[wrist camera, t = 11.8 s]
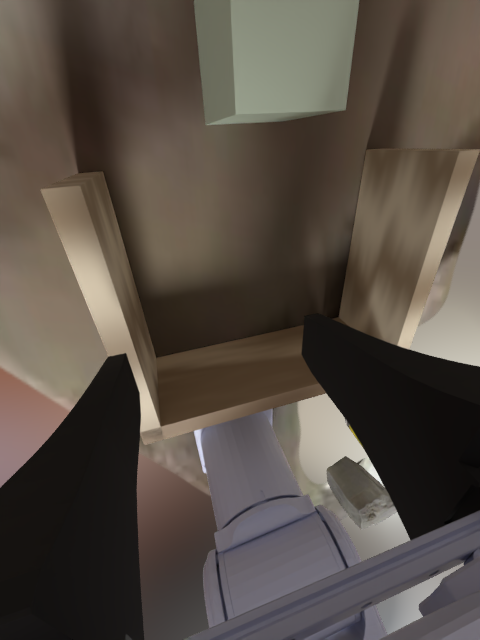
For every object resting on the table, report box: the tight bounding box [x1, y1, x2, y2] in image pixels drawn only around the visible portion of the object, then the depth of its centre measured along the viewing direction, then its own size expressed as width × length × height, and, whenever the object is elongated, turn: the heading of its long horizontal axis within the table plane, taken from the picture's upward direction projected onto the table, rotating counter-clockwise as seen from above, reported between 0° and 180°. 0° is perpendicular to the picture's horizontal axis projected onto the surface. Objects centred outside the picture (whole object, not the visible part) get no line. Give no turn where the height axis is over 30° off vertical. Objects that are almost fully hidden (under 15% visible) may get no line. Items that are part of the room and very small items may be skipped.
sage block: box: [194, 0, 359, 125], centre depth 12 cm, size 4×4×6 cm
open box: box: [40, 148, 480, 445], centre depth 17 cm, size 14×18×6 cm
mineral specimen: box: [327, 456, 397, 529], centre depth 37 cm, size 7×9×8 cm
